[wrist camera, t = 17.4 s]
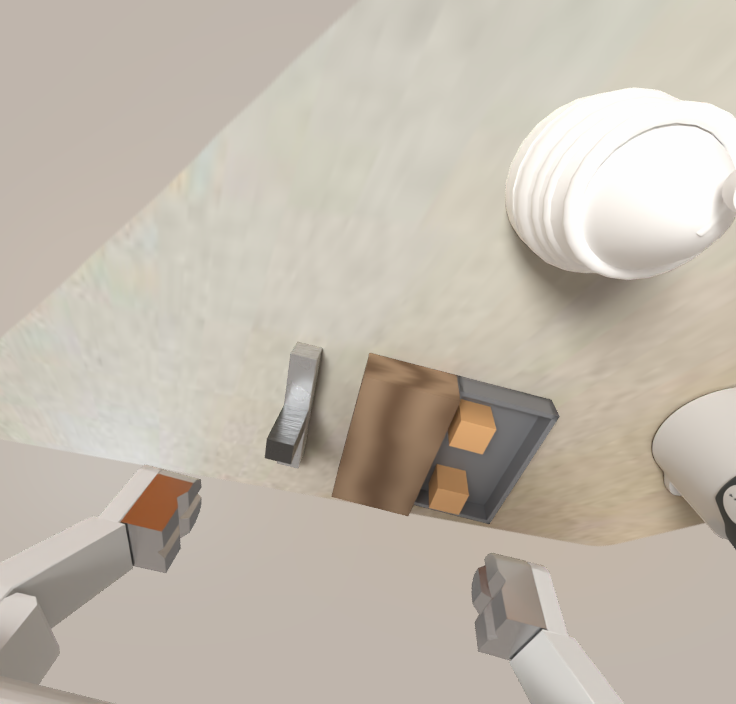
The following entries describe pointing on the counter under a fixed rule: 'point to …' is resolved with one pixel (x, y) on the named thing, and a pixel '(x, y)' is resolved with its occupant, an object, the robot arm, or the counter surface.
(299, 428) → the grey stick with cube
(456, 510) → the block
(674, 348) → the counter surface
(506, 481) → the tray
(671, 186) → the honey pot
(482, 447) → the block
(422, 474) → the ledge
